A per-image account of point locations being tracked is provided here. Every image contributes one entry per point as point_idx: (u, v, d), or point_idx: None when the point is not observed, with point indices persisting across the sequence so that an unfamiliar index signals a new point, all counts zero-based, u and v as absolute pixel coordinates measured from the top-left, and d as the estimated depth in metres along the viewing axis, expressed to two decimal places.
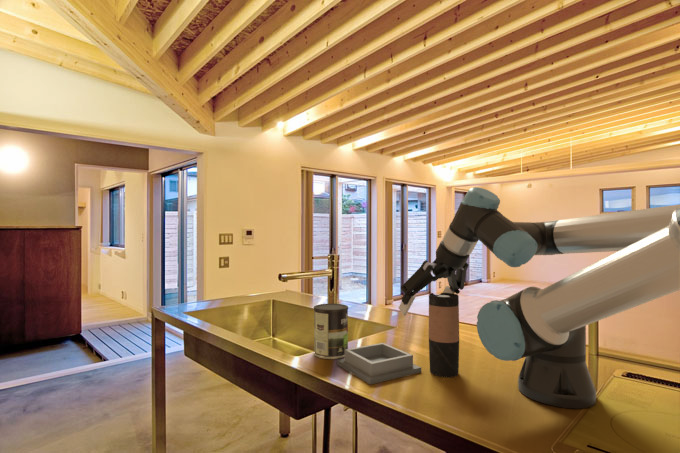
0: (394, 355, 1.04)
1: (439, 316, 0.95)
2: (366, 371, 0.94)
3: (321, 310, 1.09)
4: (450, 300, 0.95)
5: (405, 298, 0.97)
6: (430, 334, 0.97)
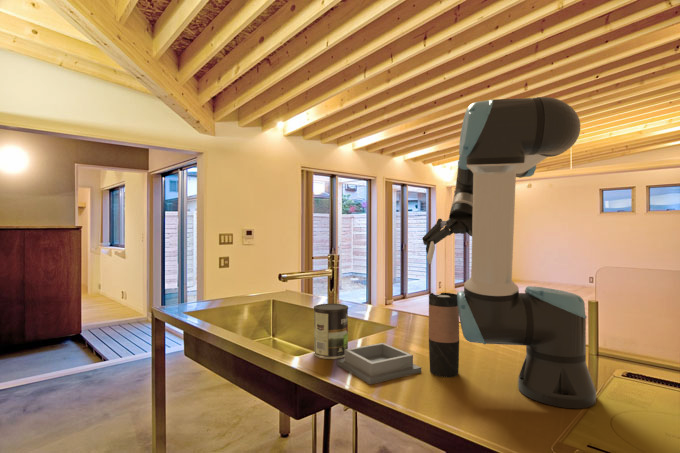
0: (394, 355, 1.04)
1: (439, 316, 0.95)
2: (366, 371, 0.94)
3: (321, 310, 1.09)
4: (450, 300, 0.95)
5: None
6: (430, 334, 0.97)
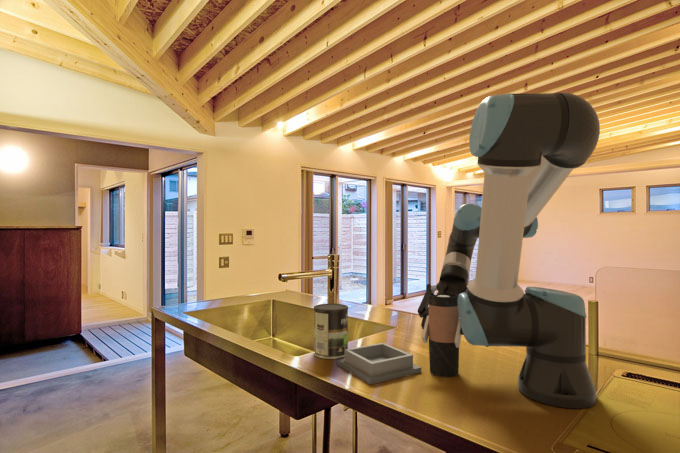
0: (394, 355, 1.04)
1: (439, 316, 0.95)
2: (366, 371, 0.94)
3: (321, 310, 1.09)
4: (450, 300, 0.95)
5: None
6: (430, 334, 0.97)
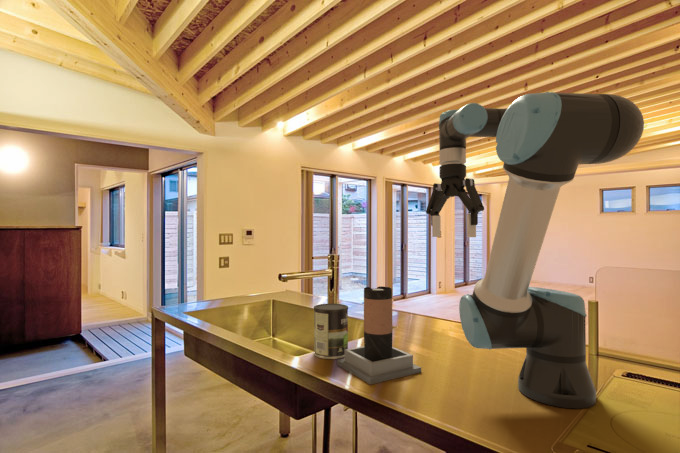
0: (394, 355, 1.04)
1: (371, 309, 0.98)
2: (366, 371, 0.94)
3: (321, 310, 1.09)
4: (382, 293, 0.98)
5: None
6: (364, 326, 1.01)
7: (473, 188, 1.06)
